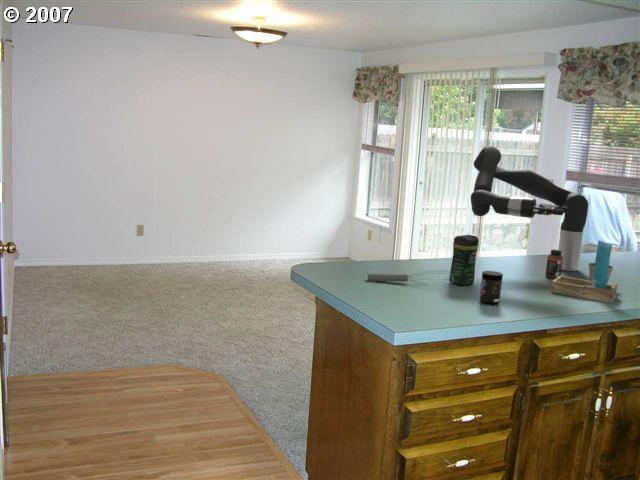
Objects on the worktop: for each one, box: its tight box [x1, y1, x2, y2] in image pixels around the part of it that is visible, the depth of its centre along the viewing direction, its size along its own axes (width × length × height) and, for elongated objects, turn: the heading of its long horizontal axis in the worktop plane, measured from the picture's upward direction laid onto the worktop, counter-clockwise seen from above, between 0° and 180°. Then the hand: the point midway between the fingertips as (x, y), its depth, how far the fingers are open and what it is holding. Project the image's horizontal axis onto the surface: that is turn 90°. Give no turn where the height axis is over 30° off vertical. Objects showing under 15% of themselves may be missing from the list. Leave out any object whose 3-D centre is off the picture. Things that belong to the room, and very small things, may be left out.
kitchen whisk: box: [361, 269, 454, 288], centre depth 244 cm, size 6×34×6 cm, turn 86°
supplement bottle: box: [545, 249, 563, 280], centre depth 270 cm, size 6×6×11 cm
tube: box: [592, 240, 613, 289], centre depth 241 cm, size 7×5×19 cm, turn 21°
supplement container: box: [479, 270, 504, 306], centre depth 223 cm, size 7×7×10 cm
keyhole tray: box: [550, 275, 619, 304], centre depth 245 cm, size 13×21×5 cm, turn 59°
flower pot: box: [587, 262, 615, 285], centre depth 258 cm, size 9×9×9 cm
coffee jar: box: [448, 234, 479, 286], centre depth 248 cm, size 10×8×19 cm
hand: (565, 211), depth 248 cm, fingers open, 8 cm apart
